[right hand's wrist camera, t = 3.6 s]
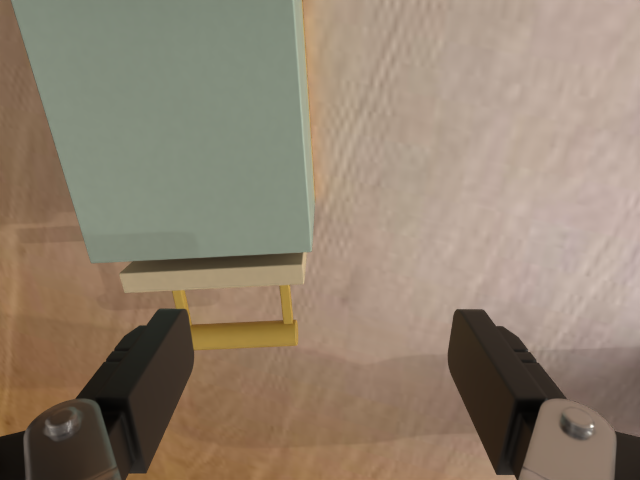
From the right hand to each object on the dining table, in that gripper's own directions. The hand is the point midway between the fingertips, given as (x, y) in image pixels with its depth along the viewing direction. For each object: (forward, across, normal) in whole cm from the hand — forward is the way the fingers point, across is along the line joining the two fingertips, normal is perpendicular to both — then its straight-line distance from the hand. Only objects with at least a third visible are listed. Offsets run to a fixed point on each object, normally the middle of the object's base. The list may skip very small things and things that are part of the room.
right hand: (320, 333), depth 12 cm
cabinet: (+17, +6, -8) cm, 20 cm away
